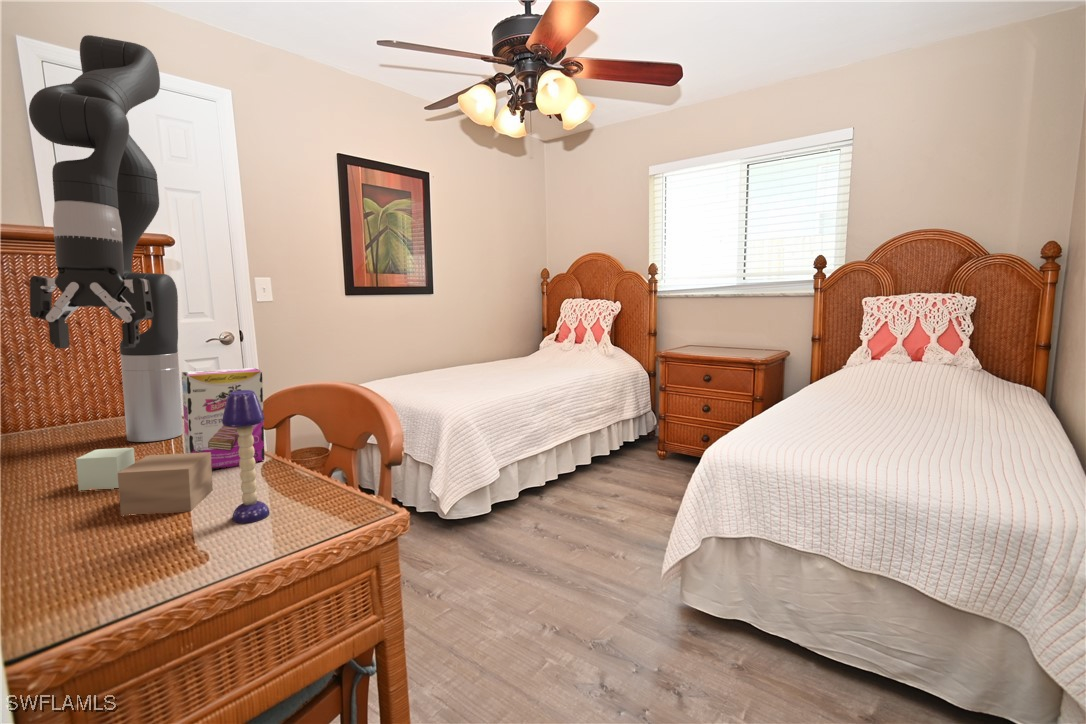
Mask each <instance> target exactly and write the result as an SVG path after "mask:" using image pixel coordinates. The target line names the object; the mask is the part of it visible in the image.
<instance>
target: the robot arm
mask: <svg viewBox="0 0 1086 724" xmlns="http://www.w3.org/2000/svg"><path fill="white" fill-rule="evenodd" d="M79 59H80V67H81V72H82V73H81V74H80V75H79V76H78V77H77V78H75V79H74V80H73V81H72V82H70V83H62V84H57V85H51V86H46V87H45V88H42V89H39V90H38V91H36V93H35V94H34V95H33V97H32V99H31V100H30V101H29V106H28V116H29V119H30V123H31V124H32V126H33V128H34V130H36V132H37V133H38V134H39V135H40V136H41V137H43V138H44V139H46V140H47V141H49V142H51V143H53V144H57V145H61V146H67V147H77V148H83V149H84V148H85V149H92V150H93V152H92V153H91V154H90V155H89V156H87V157H85V158H80V159H70V160H61V161H58V162H56V163H55V164H54V165H53V166H52V172H51V173H52V185H53V187H52V190H53V200H54V207H53V215H52V222H53V223H52V225H53V228H52V229H53V230H52V233H53V239H54V251H55V266H56V268H57V271H58V272H57V276H56V277H54V278H53V277H48V276H42V275H33V276H31V277H30V278H29V314H30V316H31V317H32V318H34V319H36V318H37V319H41V320H44V321H46V322H47V323H48V330H49V342H50V343H51V345H53V346H54V349H68V348H70V329H69V328H70V327H69V322H66V320H68V318H70V316H71V315H72V314H73V312H75V311H77V310H78V309H80V308H81V307H83V308H90V307H91V308H94V307H97V308H99V307H100V308H107V310H108V311H109V314H110V315H111V316H113V317H114V318H115V319H118V320H122V321H123V322H122V323H121V330H122V331H121V332H122V340H121V341H120V342H119V351H120V363H121V365H120V366H121V367H120V368H121V378H122V379H121V380H122V391H123V392H122V393H123V404H124V417H125V432H126V440H127V441H128V442H134V443H146V442H157V441H164V440H169V439H174V438H177V437H180V436H181V435H183V434H184V432H183V431H184V426H183V415H182V412H183V409H182V398H181V397H182V396H181V382H180V381H181V380H180V367H179V364H180V363H179V349H178V346H179V345H178V342H179V324H178V323H179V322H178V321H179V318H178V317H179V300H178V297H179V296H178V288H177V286H176V285H177V284H176V282H175V281H174V278H172V277H171V276H170V275H169V274H166V273H152V272H150V273H149V272H148V273H146V272H133V257H134V252H135V250H136V246H137V245H138V242H139V240H140V239H141V237H142V236H143V234H144V233H145V232H146V230H147V229H148V228H149V227H150V225H151V223H152V222H153V220H154V218H155V217H156V215H157V212H158V211H159V208H160V194H159V185H158V184H159V183H158V174H157V170H156V168H155V166H154V165H153V163H152V162H151V160H150V159H149V158H148V156H147V154H146V153H145V152H144V151H143V150H142V149H141V147H140V146H139V144H137V142H136V141H135V140H134V138H133V137H132V136H131V135H130V125H129V121H128V120H129V119H128V117H127V115H128V113H129V112H130V110H132V109H133V108H135V107H137V106H139V105H141V104H143V103H145V102H148V101H150V100H153V99H155V97H156V96H157V95H158V94H159V92H160V88H161V87H160V86H161V76H160V70H159V65H158V62H157V59H156V57H155V55H154V53H152V51H151V50H150V49H149V48H148V47H146V46H144V45H141V44H139V43H135V42H131V41H126V40H119V39H116V38H115V39H114V38H109V37H103V36H98V35H88V34H86V35H84V36H83V37H81V40H80V44H79ZM56 287H57V288H58V290H59V291H60V292H61V293H62V294H60V296H59V297H58V298H57V300H56V301H55V302H54V303H53V304H52V302H53V299H52V298H53V297H52V294H53V292H54V291H55V290H56ZM52 305H53V306H52ZM144 320H147V321H148V320H149V321H150V320H151V323H150V327H149V328H147V330H145V331H143V332H141V333H140V322H142V321H144Z"/></svg>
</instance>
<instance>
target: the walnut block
mask: <svg viewBox="0 0 1086 724" xmlns="http://www.w3.org/2000/svg"><path fill="white" fill-rule="evenodd" d="M118 485H119V489H118V496H119V497H118V498H119V510H120V517H121V516H122V517H124V516H123V515H129V514H130V515H131V514H147V513H148V515H150V514H149V513H161V514H172V513H186V512H192V511H193V510H194V509H195V508H196V507H197V506H198V505H199V504H200V503H202V501H204V499H205V498H207V497H208V496H209V495H210V494H211V493H212V492H213V491H214V487H213V470H212V466H211V452H204V453H185V452H184V453H170V454H169V453H167V454H151V455H150V454H149V455H148V454H147V455H146V456H143V457H142V458H141V459H138V460H137V461H135V463H134V464H132V465H130V466H129V467H127V468H125V469H123V470H122V471H120V472H118Z"/></svg>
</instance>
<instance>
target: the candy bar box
mask: <svg viewBox="0 0 1086 724" xmlns="http://www.w3.org/2000/svg"><path fill="white" fill-rule="evenodd" d="M181 386H182V388H181V389H182V412H183V431H184V432H183V434H184V437H183V438H184V453H204V452H211V466H212V471H214V469H216V470H220V469H219V468H221V469H226V467H227V468H231V467H238V466H240V465H239V463H240V459H241V458H240V457H239V448H240V446H239V445H238V437H239V435H238V433H237V427H226V426H224V425H223V424H222V419H223V414H224V410H225V405H226V401H227V397H228V394H229V393H230V392H234V391H239V390H252V391H254V392H255V394H256V396H257V399H258V401H259V404H260V406H261V409H262V412H263V413H264V394H263V391H264V390H263V388H264V387H263V386H264V385H263V371H262V370H261V369H258V368H255V367H245V368H244V367H243V368H230V369H227V368H226V369H211V370H210V369H207V370H192V371H190V370H188V371H187V370H186V371H181ZM264 424H265V421H263V422H261V423H260V424H256V425H252V426H253V432H252V435H253V438H254V443H253V445H252V446H253V447H254V451H255V453H254V456H253V457H254V459H255V463H259V462H258V461H261V462H263V461H262V460H264V461H265V428H264V427H265V425H264Z"/></svg>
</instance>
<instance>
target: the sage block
mask: <svg viewBox="0 0 1086 724" xmlns="http://www.w3.org/2000/svg"><path fill="white" fill-rule="evenodd" d="M135 459H136V458H135V448H134V447H123V448H121V447H118V448H101V449H97V448H96V449H94V450H91V451H89V452H88V453H86V454H83V455H81V456H79V457H77V458H75V461H76V462H75V463H76V474H77V484H78V485H77V487H78V488H77V489H78V491H79V490H88V489H111V490H115V489H114V488H119V485H118V472H120V471H122V470H123V469H125V468H127V467H129V466H130V465H132V464H134V463H135V462H136V460H135Z"/></svg>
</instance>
